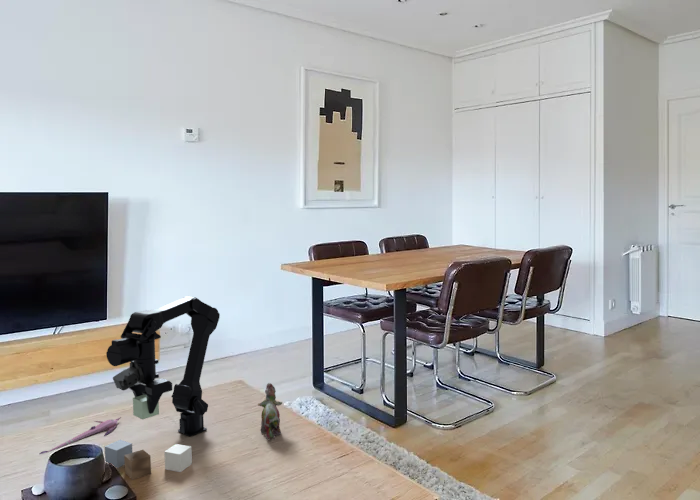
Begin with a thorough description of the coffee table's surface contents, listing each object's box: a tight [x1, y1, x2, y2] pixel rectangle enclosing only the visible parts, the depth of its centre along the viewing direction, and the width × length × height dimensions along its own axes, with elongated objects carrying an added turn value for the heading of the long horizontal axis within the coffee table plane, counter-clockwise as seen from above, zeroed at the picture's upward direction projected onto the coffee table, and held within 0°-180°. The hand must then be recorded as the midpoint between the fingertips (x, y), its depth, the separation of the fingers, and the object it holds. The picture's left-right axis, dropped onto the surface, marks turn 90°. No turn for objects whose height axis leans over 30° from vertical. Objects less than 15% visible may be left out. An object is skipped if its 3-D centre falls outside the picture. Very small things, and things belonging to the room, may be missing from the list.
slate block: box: [104, 439, 133, 469], centre depth 154 cm, size 5×5×5 cm
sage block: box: [132, 395, 160, 420], centre depth 157 cm, size 5×5×5 cm
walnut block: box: [124, 449, 152, 481], centre depth 147 cm, size 5×5×5 cm
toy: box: [39, 416, 122, 455], centre depth 170 cm, size 28×2×10 cm
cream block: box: [163, 443, 193, 473], centre depth 151 cm, size 5×5×5 cm
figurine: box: [257, 382, 283, 440], centre depth 172 cm, size 8×12×15 cm, turn 174°
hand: (146, 411), depth 157 cm, fingers closed on sage block, 5 cm apart
